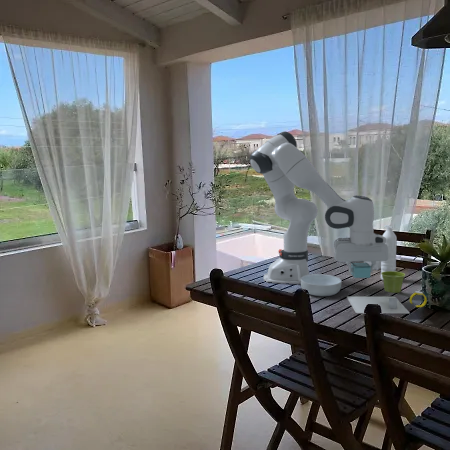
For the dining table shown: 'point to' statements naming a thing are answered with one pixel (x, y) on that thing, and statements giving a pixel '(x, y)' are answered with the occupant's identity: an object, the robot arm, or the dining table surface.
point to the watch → (418, 294)
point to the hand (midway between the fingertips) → (360, 272)
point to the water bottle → (389, 251)
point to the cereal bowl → (321, 284)
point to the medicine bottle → (377, 266)
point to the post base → (385, 302)
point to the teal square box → (361, 270)
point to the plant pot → (392, 281)
